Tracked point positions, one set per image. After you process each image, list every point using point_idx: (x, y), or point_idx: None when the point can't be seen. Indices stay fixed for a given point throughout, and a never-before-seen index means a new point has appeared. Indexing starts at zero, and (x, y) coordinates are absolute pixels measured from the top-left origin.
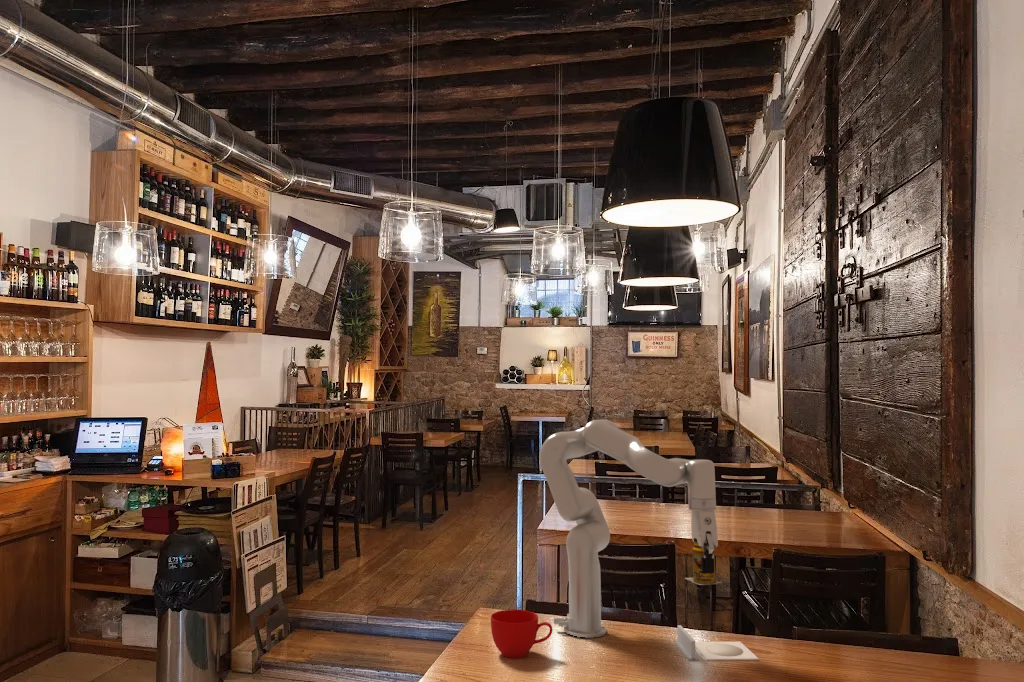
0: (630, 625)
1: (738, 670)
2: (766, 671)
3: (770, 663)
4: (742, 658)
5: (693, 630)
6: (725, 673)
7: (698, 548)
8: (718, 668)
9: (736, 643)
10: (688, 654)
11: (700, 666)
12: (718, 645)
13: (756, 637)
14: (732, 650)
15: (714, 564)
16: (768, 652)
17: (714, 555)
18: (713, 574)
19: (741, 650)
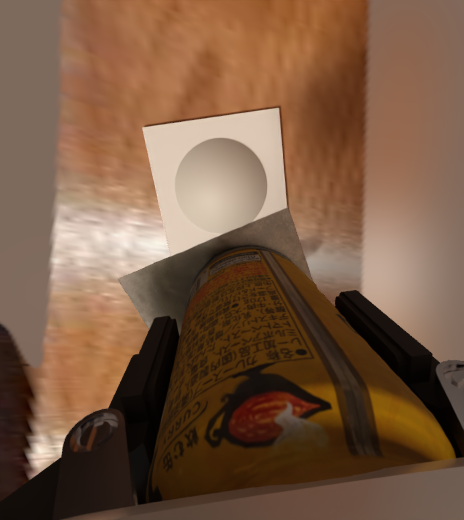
0: (63, 379)
1: (346, 178)
2: (353, 109)
3: (298, 81)
4: (280, 152)
5: (59, 239)
6: (363, 212)
7: None
8: (334, 222)
9: (162, 142)
10: None
11: (323, 258)
12: (191, 196)
13: (76, 60)
14: (226, 167)
15: (321, 299)
16: (212, 60)
17: (359, 343)
18: (311, 281)
19: (222, 141)
